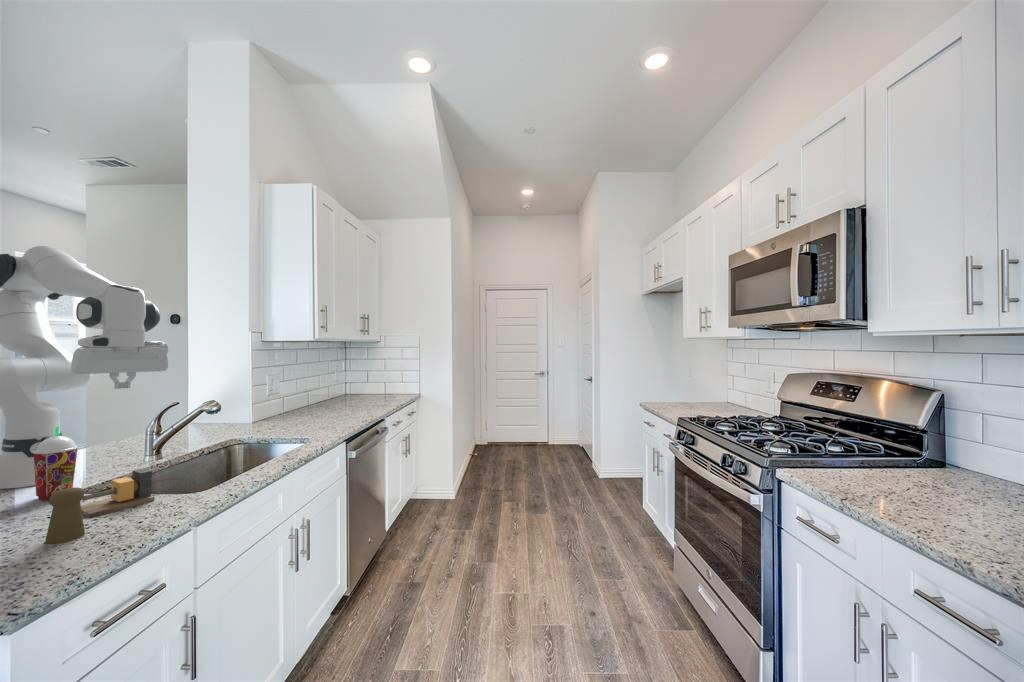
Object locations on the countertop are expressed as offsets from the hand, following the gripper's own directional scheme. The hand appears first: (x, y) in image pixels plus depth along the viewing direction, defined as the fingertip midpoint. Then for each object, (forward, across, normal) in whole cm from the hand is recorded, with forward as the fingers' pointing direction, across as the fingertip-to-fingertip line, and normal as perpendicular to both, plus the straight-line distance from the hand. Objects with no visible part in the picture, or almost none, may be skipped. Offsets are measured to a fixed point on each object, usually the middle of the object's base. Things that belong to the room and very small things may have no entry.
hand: (122, 388), depth 114 cm
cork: (+31, +16, +22) cm, 41 cm away
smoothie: (+31, +9, -14) cm, 35 cm away
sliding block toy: (+31, +3, +8) cm, 32 cm away
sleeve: (+30, +2, +8) cm, 31 cm away
